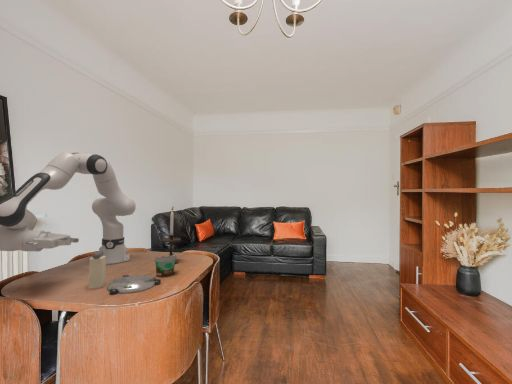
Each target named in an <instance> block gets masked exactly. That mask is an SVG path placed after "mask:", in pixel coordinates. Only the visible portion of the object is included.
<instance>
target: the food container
mask: <svg viewBox="0 0 512 384" xmlns="http://www.w3.org/2000/svg"><path fill="white" fill-rule="evenodd" d="M172 254H173V255H163V256H161V257H158V256H157V257H156V256H155V257H154V260H153V261H154V262H155V274H156V275H155V276H156V277H158V278H164V277H167V278H168V277H171V276H173V275H174V274H175V265H176V264H175V259H176V260H178V259H177V254H176V253H173V252H172Z"/></svg>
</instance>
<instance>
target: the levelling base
mask: <svg viewBox="0 0 512 384" xmlns="http://www.w3.org/2000/svg"><path fill="white" fill-rule="evenodd" d="M161 283H162V282H161V279H157V278H156V277H155V276H153V275H149V274H148V275H147V274H133V275H132V274H131V275H130V274H129V275H128V274H124V275H122V276H121V277H118V278H115V279H112V280H110V281H109V282H108V283H107V291H108V292H109V293H108V294H109V295H110V296H113V295H118V294H134V293H139V292H143V291H147V290H149V289H152V288H154V286H158V285H161Z"/></svg>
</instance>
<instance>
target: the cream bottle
mask: <svg viewBox="0 0 512 384" xmlns="http://www.w3.org/2000/svg"><path fill="white" fill-rule="evenodd" d="M102 255H103V251H99V250H98V251H96V252H94V253H93V254H92V257H90V258H89V261H88V263H89V264H88V265H89V267H88V268H89V269H88V289H89V290H90V289H102V288H103V287H104V286H105V285H106V274H107V271H106V270H107V267H106V266H107V264H106V256H102Z"/></svg>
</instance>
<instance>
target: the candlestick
mask: <svg viewBox="0 0 512 384" xmlns="http://www.w3.org/2000/svg"><path fill="white" fill-rule="evenodd" d="M174 214H175V213H174V206H172V207H171V213H170V215H169V216H170V221H169V226H170V227H169V237H164V238H162V239H161V242H162V243H168V244H169V249H168V252H169V253H168V256H170V255H173V252H174V249H173V244H174V243H178V242H181V238H180V237H174V236H175V234H174V221H175V220H174V218H175V217H174V216H175V215H174ZM176 263H177V264H179V259H175V265H176Z"/></svg>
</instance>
